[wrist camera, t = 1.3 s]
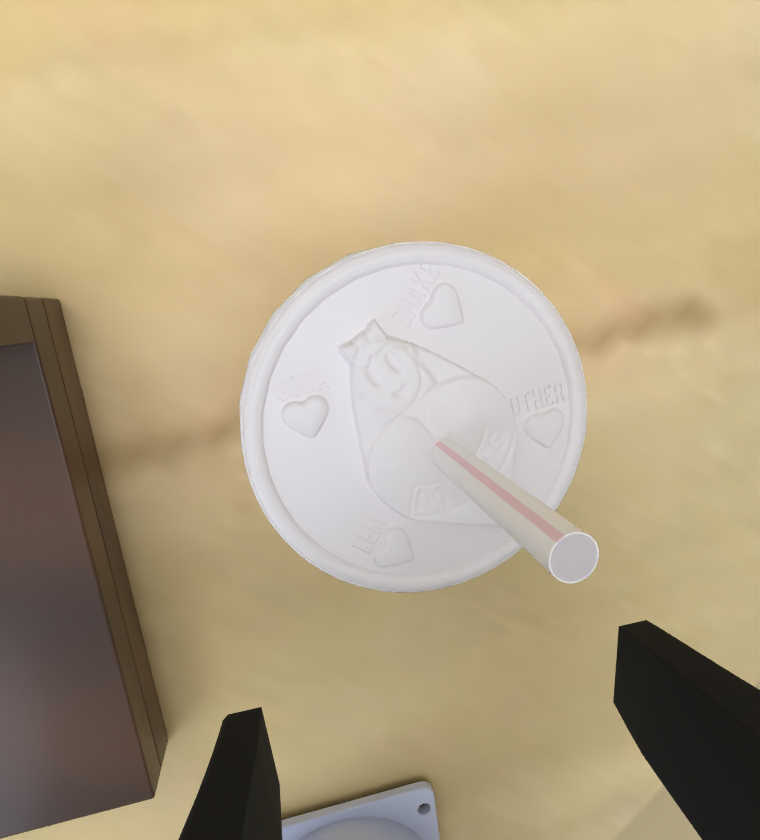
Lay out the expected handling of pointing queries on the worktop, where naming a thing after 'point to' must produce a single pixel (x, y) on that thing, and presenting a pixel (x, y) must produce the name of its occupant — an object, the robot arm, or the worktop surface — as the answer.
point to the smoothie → (417, 420)
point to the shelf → (63, 599)
